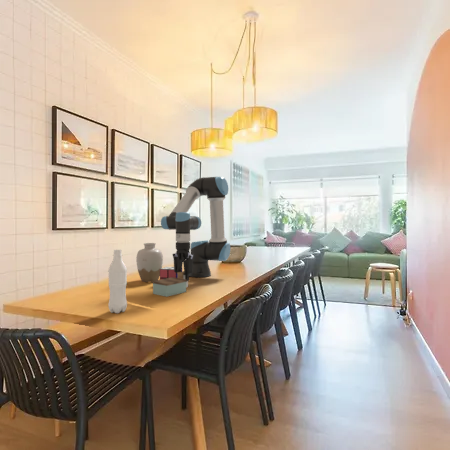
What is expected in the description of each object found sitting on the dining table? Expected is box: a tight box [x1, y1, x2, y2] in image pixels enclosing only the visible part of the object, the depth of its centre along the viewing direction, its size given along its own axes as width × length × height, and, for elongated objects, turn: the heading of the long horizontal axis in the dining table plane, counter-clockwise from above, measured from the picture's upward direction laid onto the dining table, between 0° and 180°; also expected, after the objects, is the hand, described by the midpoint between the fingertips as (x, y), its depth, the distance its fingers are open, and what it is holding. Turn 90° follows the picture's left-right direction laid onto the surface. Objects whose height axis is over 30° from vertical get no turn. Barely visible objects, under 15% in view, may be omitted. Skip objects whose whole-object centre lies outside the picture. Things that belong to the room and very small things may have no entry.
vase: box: [135, 242, 164, 283], centre depth 200 cm, size 16×16×23 cm
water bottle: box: [107, 249, 128, 314], centre depth 132 cm, size 7×7×25 cm
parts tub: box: [152, 282, 187, 297], centre depth 163 cm, size 13×10×6 cm
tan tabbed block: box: [151, 270, 187, 286], centre depth 165 cm, size 19×11×5 cm, turn 143°
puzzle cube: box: [159, 266, 177, 280], centre depth 185 cm, size 10×10×10 cm
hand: (183, 286), depth 170 cm, fingers closed on tan tabbed block, 3 cm apart
